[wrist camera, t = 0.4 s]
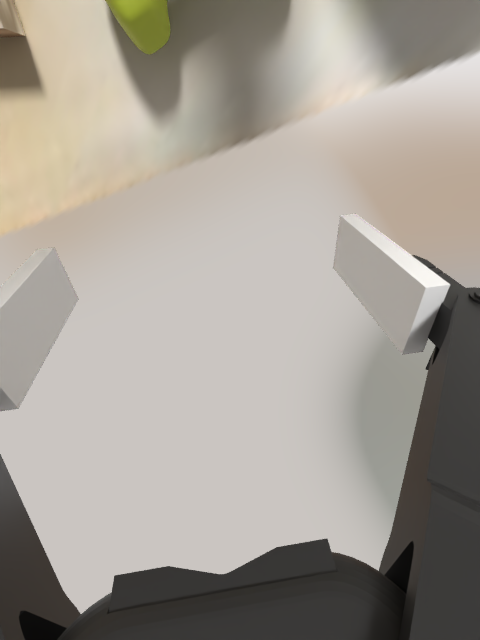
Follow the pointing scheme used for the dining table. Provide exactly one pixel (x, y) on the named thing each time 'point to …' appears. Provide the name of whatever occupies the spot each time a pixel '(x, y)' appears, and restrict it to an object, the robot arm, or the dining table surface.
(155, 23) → the dumbbell
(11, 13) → the brown block
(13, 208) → the dining table surface
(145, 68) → the dining table surface
